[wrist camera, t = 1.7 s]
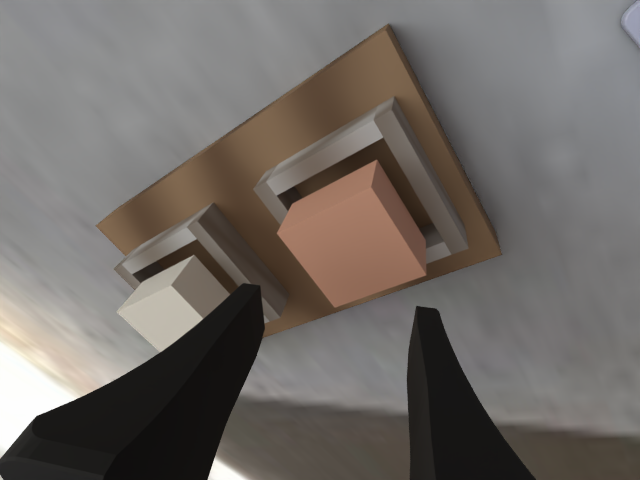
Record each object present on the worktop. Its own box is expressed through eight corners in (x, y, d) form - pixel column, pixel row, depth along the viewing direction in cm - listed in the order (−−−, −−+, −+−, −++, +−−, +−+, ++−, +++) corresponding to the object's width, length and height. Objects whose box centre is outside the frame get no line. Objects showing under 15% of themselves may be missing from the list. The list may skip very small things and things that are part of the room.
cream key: (194, 254, 22) (170, 285, 20) (245, 311, 23) (228, 345, 21) (142, 281, 24) (116, 311, 22) (193, 332, 25) (173, 364, 23)
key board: (388, 23, 18) (381, 37, 14) (495, 233, 22) (508, 279, 19) (115, 209, 27) (73, 244, 23) (231, 332, 31) (209, 375, 28)
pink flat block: (377, 159, 17) (371, 187, 15) (425, 240, 18) (426, 275, 16) (292, 203, 19) (276, 233, 17) (343, 272, 20) (334, 307, 18)
